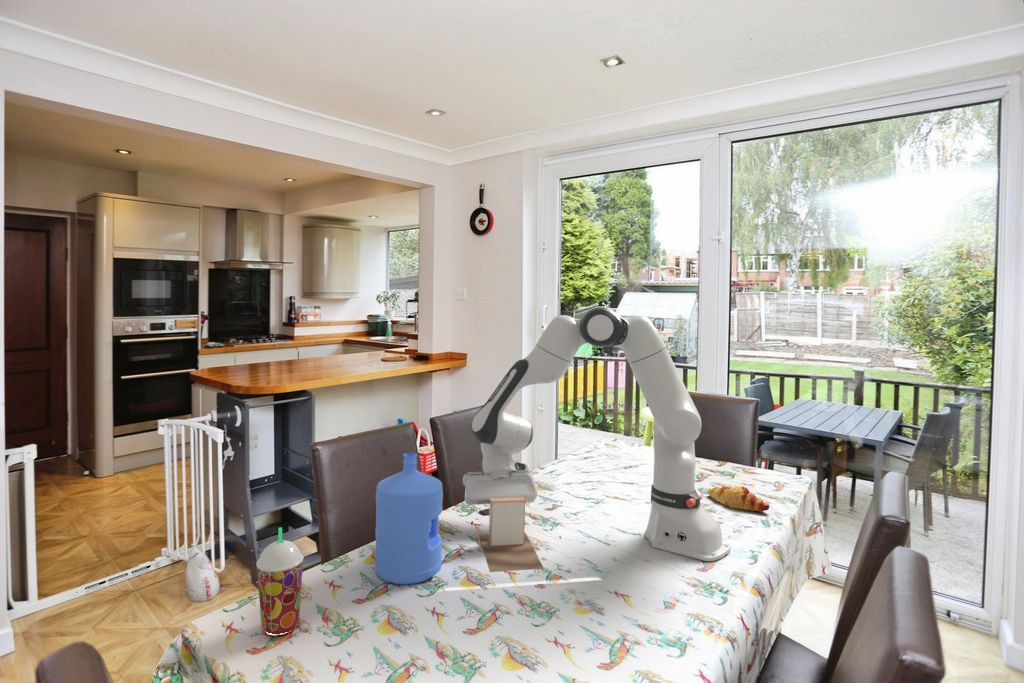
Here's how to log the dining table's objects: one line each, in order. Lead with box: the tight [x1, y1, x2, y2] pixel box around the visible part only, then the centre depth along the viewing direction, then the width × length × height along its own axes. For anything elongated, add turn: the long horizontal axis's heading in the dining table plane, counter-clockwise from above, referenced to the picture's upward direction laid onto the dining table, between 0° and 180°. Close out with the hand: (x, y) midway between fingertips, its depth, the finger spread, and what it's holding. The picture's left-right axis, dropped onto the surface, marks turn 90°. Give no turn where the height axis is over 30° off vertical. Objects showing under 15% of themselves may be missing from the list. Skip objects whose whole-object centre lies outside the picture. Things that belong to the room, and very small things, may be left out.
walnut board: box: [478, 532, 544, 573], centre depth 143 cm, size 21×13×1 cm, turn 11°
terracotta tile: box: [488, 497, 526, 547], centre depth 146 cm, size 3×9×12 cm, turn 101°
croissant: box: [707, 485, 770, 513], centre depth 182 cm, size 21×10×8 cm, turn 40°
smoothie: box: [255, 527, 304, 634], centre depth 107 cm, size 8×8×20 cm
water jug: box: [374, 452, 444, 585], centre depth 132 cm, size 16×16×28 cm
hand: (503, 517), depth 151 cm, fingers closed
